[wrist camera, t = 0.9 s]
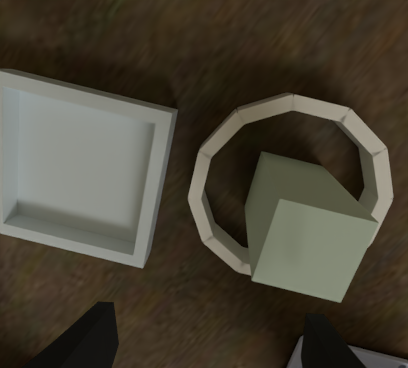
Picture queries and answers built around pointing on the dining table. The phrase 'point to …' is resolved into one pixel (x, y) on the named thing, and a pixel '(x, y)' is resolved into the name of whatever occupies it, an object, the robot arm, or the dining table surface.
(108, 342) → the robot arm
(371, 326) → the dining table surface
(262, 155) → the peg
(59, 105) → the tray
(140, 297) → the dining table surface
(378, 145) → the collar
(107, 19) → the dining table surface
